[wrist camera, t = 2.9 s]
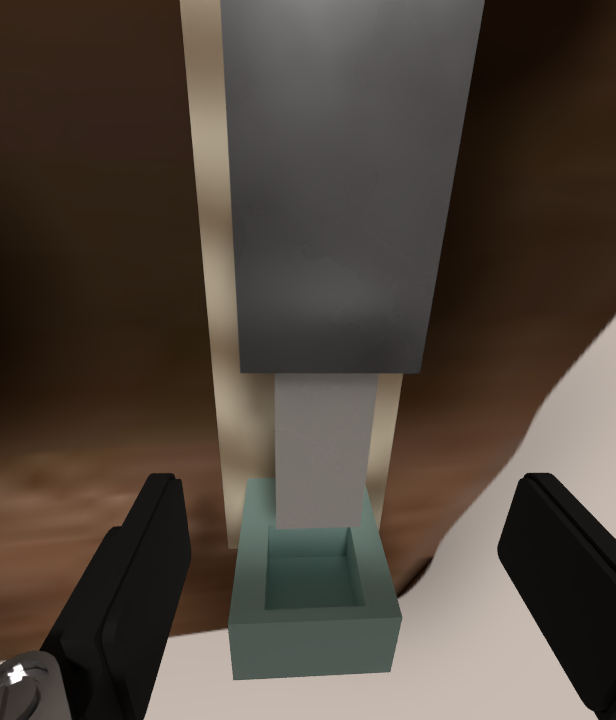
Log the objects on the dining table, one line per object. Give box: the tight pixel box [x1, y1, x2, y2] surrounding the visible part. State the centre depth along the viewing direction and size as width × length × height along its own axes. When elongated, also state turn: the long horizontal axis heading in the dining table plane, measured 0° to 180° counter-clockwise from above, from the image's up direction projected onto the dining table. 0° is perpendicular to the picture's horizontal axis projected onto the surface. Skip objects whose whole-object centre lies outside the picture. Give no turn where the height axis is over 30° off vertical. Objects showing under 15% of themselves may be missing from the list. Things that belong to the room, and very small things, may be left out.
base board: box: [180, 0, 403, 549], centre depth 19 cm, size 28×10×2 cm, turn 178°
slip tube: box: [275, 373, 379, 529], centre depth 12 cm, size 16×3×3 cm, turn 178°
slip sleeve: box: [220, 0, 485, 374], centre depth 12 cm, size 9×5×8 cm, turn 178°
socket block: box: [228, 478, 402, 680], centre depth 19 cm, size 4×7×8 cm, turn 88°
